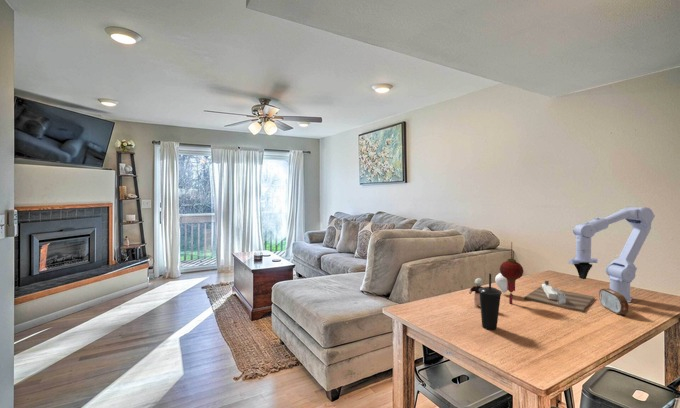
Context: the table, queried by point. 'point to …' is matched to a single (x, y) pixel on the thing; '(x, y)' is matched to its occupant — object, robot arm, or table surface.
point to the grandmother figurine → (477, 292)
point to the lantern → (511, 273)
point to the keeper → (560, 296)
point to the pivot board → (572, 299)
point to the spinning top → (501, 282)
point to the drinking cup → (489, 306)
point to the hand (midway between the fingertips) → (582, 278)
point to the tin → (614, 301)
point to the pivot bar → (549, 291)
